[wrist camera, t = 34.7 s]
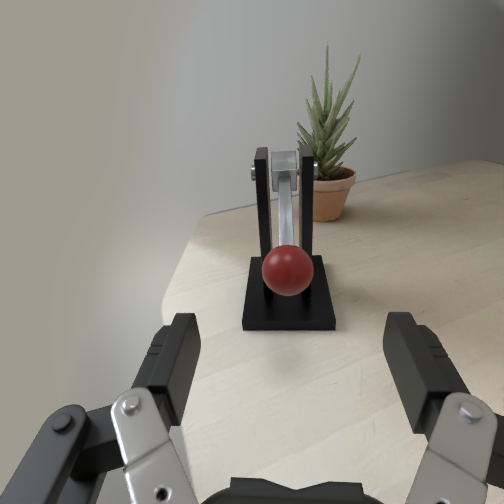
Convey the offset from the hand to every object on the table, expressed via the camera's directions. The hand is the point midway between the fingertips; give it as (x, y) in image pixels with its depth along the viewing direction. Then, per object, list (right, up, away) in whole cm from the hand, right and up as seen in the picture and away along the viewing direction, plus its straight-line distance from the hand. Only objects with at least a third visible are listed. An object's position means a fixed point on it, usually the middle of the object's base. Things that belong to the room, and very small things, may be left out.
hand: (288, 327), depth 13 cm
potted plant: (+10, +10, +40) cm, 43 cm away
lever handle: (+1, +5, +14) cm, 14 cm away
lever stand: (+2, -1, +23) cm, 23 cm away
